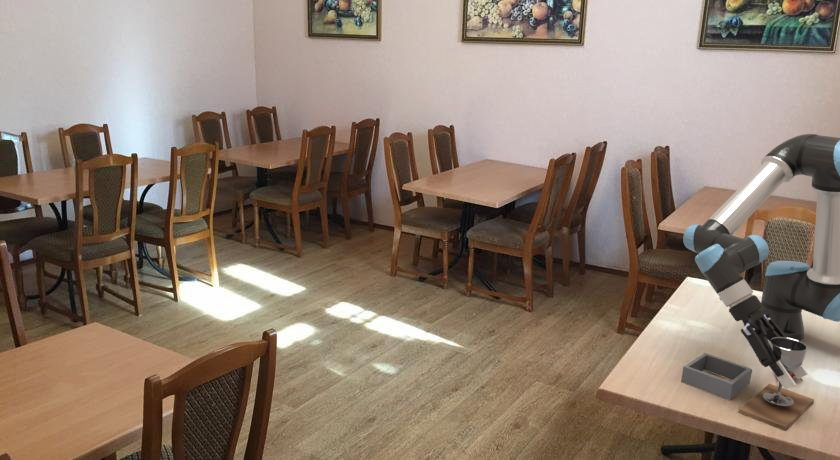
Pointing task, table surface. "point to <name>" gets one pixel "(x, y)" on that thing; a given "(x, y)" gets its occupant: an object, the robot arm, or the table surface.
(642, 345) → the table surface
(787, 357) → the wine glass
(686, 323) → the table surface
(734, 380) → the square frame
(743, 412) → the board
